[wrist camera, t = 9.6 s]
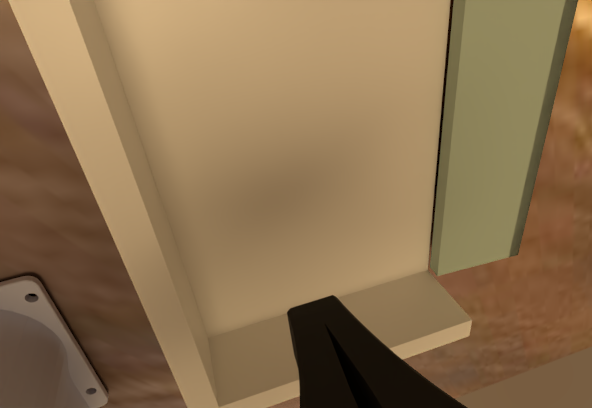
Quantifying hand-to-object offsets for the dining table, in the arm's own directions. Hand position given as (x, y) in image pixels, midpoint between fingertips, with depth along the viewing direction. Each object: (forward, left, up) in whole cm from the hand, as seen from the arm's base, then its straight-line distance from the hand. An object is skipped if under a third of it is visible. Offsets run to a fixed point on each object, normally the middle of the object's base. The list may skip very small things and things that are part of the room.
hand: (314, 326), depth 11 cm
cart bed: (+2, -2, -9) cm, 10 cm away
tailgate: (+2, -9, -8) cm, 12 cm away
